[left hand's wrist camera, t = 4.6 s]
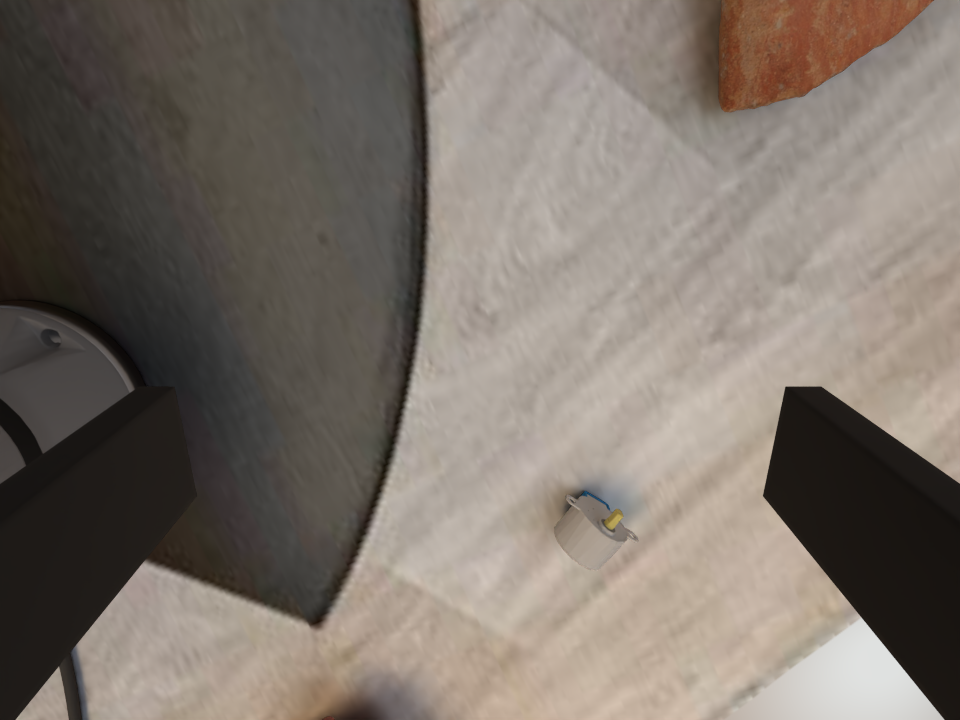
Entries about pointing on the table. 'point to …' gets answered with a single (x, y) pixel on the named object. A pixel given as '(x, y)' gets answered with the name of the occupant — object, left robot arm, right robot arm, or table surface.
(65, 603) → the left robot arm
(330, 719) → the fabric sculpture
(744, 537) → the table surface
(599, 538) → the electric motor
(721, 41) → the ceramic shard
